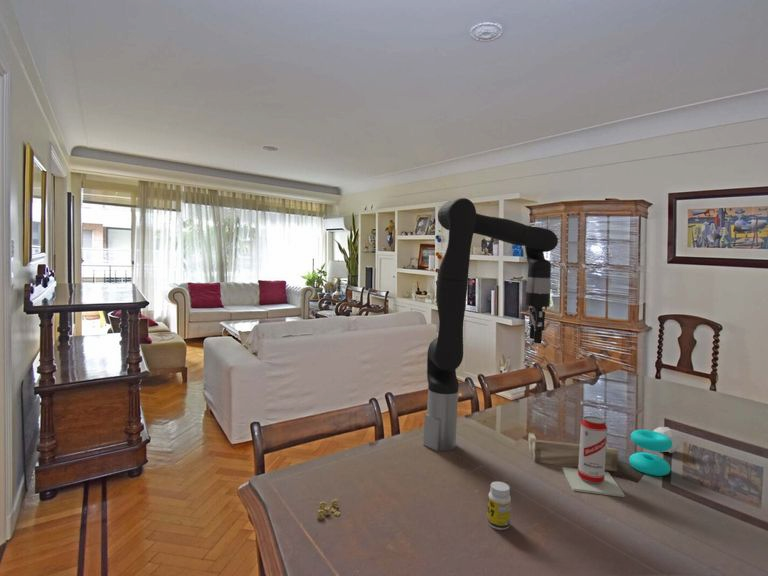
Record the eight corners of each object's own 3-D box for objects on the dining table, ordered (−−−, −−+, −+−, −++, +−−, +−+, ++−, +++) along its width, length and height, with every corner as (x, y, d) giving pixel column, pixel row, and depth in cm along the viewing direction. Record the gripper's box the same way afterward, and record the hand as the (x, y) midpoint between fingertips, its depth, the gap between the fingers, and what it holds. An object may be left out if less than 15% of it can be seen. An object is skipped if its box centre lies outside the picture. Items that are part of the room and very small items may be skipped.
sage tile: (624, 497, 106) (624, 494, 106) (572, 490, 108) (573, 488, 108) (608, 474, 118) (608, 472, 118) (561, 469, 120) (562, 467, 120)
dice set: (317, 522, 92) (317, 513, 92) (315, 509, 97) (315, 500, 97) (340, 520, 93) (341, 511, 93) (338, 507, 98) (338, 499, 98)
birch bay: (617, 471, 120) (618, 450, 120) (534, 462, 124) (535, 441, 124) (602, 452, 132) (603, 433, 132) (527, 444, 136) (528, 426, 136)
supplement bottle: (483, 517, 95) (485, 480, 94) (504, 517, 95) (506, 480, 95) (491, 530, 90) (493, 491, 90) (513, 530, 91) (515, 491, 90)
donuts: (635, 438, 119) (627, 426, 128) (633, 473, 119) (625, 458, 129) (677, 444, 115) (666, 431, 125) (675, 480, 116) (664, 465, 125)
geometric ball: (669, 459, 136) (688, 441, 134) (664, 457, 130) (684, 439, 129) (647, 440, 141) (665, 423, 140) (642, 437, 135) (661, 419, 134)
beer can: (607, 486, 110) (611, 425, 109) (581, 483, 111) (584, 422, 110) (599, 475, 116) (603, 416, 115) (575, 472, 117) (578, 414, 116)
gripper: (523, 290, 148) (520, 336, 149) (529, 292, 134) (526, 343, 135) (545, 291, 147) (543, 338, 148) (554, 293, 133) (551, 345, 134)
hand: (535, 340), depth 141 cm, fingers open, 8 cm apart
